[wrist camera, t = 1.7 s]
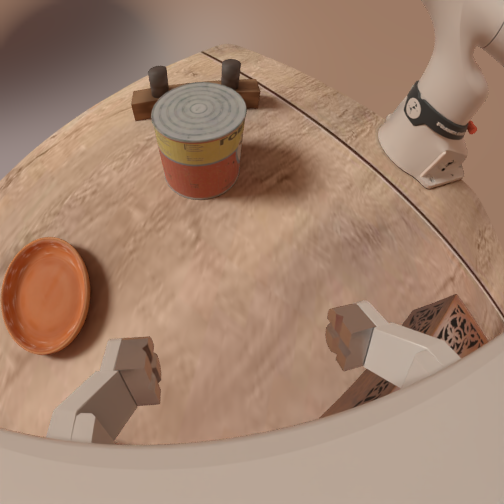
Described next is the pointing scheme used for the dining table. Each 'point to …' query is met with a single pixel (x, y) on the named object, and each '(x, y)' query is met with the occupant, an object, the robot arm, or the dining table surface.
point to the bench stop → (230, 78)
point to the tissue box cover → (427, 322)
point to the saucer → (45, 296)
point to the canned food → (200, 138)
